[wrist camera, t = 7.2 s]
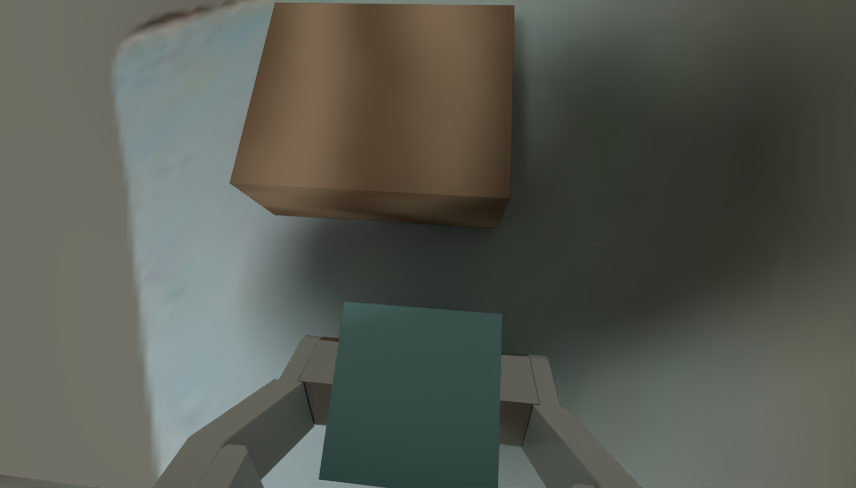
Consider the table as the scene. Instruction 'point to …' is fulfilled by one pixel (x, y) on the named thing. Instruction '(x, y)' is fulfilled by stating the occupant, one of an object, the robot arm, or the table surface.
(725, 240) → the table surface
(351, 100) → the walnut block
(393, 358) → the teal column
